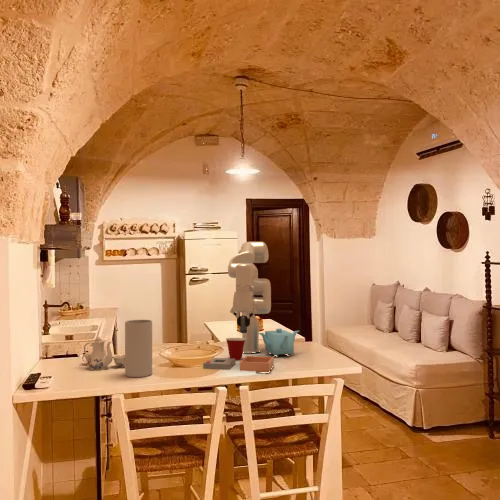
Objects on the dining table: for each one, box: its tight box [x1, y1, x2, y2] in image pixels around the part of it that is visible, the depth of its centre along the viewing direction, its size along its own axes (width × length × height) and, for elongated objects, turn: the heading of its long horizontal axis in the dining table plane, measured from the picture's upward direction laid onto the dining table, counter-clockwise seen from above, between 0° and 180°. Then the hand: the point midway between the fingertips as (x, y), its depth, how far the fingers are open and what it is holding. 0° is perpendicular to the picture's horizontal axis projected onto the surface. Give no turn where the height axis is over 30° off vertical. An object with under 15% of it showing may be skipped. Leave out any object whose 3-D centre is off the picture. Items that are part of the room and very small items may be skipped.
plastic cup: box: [225, 337, 246, 361], centre depth 258 cm, size 11×11×12 cm
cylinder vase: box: [124, 319, 153, 378], centre depth 228 cm, size 12×12×25 cm
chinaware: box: [82, 335, 125, 371], centre depth 245 cm, size 28×17×17 cm, turn 75°
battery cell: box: [239, 314, 247, 334], centre depth 238 cm, size 4×4×9 cm
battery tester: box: [202, 357, 236, 371], centre depth 241 cm, size 13×13×4 cm
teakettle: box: [259, 328, 300, 356], centre depth 272 cm, size 19×19×15 cm
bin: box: [239, 355, 275, 372], centre depth 237 cm, size 14×14×5 cm
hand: (243, 325), depth 238 cm, fingers closed on battery cell, 3 cm apart
